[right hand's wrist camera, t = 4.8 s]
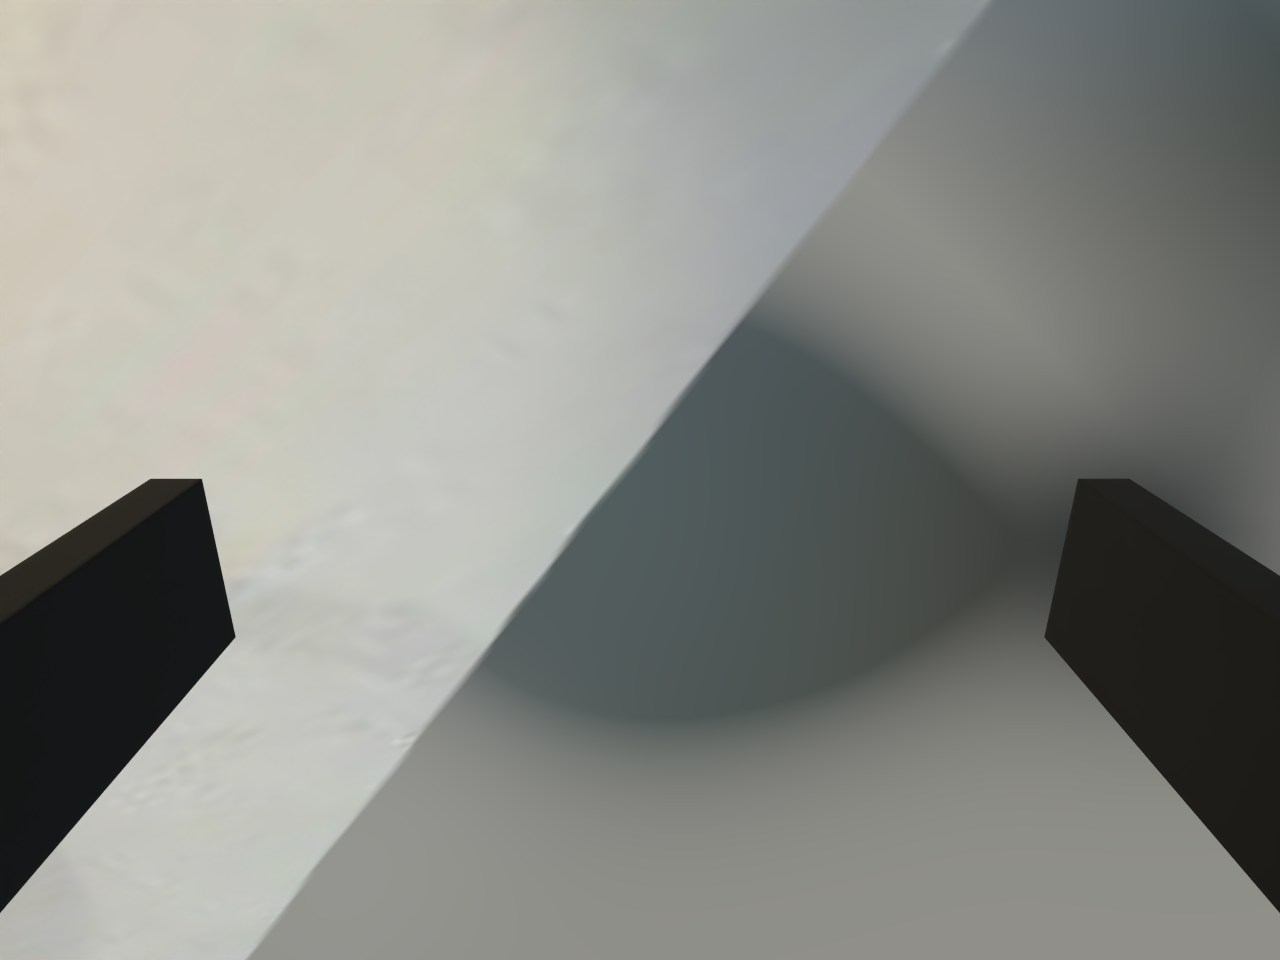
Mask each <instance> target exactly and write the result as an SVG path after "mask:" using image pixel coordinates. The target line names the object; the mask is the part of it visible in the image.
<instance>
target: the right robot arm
mask: <svg viewBox="0 0 1280 960" xmlns="http://www.w3.org/2000/svg"><path fill="white" fill-rule="evenodd" d="M234 638H235V632H234V628H233V623H232V618H231V614H230V609H229V604H228V599H227V595H226V590H225V585H224V581H223V576H222V571H221V567H220V562H219V557H218V553H217V548H216V543H215V538H214V534H213V529H212V524H211V520H210V515H209V510H208V506H207V501H206V496H205V491H204V487H203V482H202V479H150V480H148V481H147V482H145V483H143V484H142V485H140V486H139V487H137V488H136V489H134V490H133V491H131V492H130V493H128V494H126V495H125V496H123V497H122V498H120V499H119V500H117V501H116V502H114V503H112V504H111V505H109V506H108V507H106V508H105V509H103V510H102V511H100V512H99V513H97V514H95V515H94V516H92V517H91V518H89V519H88V520H86V521H85V522H83V523H81V524H80V525H78V526H77V527H75V528H74V529H72V530H71V531H69V532H68V533H66V534H64V535H63V536H61V537H60V538H58V539H57V540H55V541H54V542H52V543H50V544H49V545H47V546H46V547H44V548H43V549H41V550H40V551H38V552H37V553H35V554H33V555H32V556H30V557H29V558H27V559H26V560H24V561H23V562H21V563H19V564H18V565H16V566H15V567H13V568H12V569H10V570H9V571H7V572H6V573H4V574H2V575H1V576H0V913H1V911H2V910H3V909H4V908H5V907H6V905H7V904H8V903H9V902H10V901H11V900H12V898H13V897H14V896H15V895H16V894H17V893H18V891H19V890H20V889H21V888H22V887H23V886H24V884H25V883H26V882H27V881H28V880H29V879H30V877H31V876H32V875H33V874H34V873H35V872H36V870H37V869H38V868H39V867H40V866H41V864H42V863H43V862H44V861H45V860H46V859H47V857H48V856H49V855H50V854H51V853H52V852H53V850H54V849H55V848H56V847H57V846H58V845H59V843H60V842H61V841H62V840H63V839H64V838H65V836H66V835H67V834H68V833H69V832H70V830H71V829H72V828H73V827H74V826H75V825H76V823H77V822H78V821H79V820H80V819H81V818H82V816H83V815H84V814H85V813H86V812H87V811H88V809H89V808H90V807H91V806H92V805H93V804H94V802H95V801H96V800H97V799H98V798H99V797H100V795H101V794H102V793H103V792H104V791H105V789H106V788H107V787H108V786H109V785H110V784H111V782H112V781H113V780H114V779H115V778H116V777H117V775H118V774H119V773H120V772H121V771H122V770H123V768H124V767H125V766H126V765H127V764H128V763H129V761H130V760H131V759H132V758H133V757H134V756H135V754H136V753H137V752H138V751H139V750H140V748H141V747H142V746H143V745H144V744H145V743H146V741H147V740H148V739H149V738H150V737H151V736H152V734H153V733H154V732H155V731H156V730H157V729H158V727H159V726H160V725H161V724H162V723H163V722H164V720H165V719H166V718H167V717H168V716H169V714H170V713H171V712H172V711H173V710H174V709H175V707H176V706H177V705H178V704H179V703H180V702H181V700H182V699H183V698H184V697H185V696H186V695H187V693H188V692H189V691H190V690H191V689H192V688H193V686H194V685H195V684H196V683H197V682H198V681H199V679H200V678H201V677H202V676H203V675H204V673H205V672H206V671H207V670H208V669H209V668H210V666H211V665H212V664H213V663H214V662H215V661H216V659H217V658H218V657H219V656H220V655H221V654H222V652H223V651H224V650H225V649H226V648H227V647H228V645H229V644H230V643H231V642H232V641H233V639H234ZM1045 638H1046V639H1047V641H1048V642H1049V643H1050V644H1051V645H1052V646H1053V648H1054V649H1055V650H1056V651H1057V652H1058V653H1059V655H1060V656H1061V657H1062V658H1063V659H1064V661H1065V662H1066V663H1067V664H1068V665H1069V666H1070V668H1071V669H1072V670H1073V671H1074V672H1075V673H1076V675H1077V676H1078V677H1079V678H1080V679H1081V680H1082V682H1083V683H1084V684H1085V685H1086V686H1087V688H1088V689H1089V690H1090V691H1091V692H1092V693H1093V695H1094V696H1095V697H1096V698H1097V699H1098V700H1099V702H1100V703H1101V704H1102V705H1103V706H1104V707H1105V709H1106V710H1107V711H1108V712H1109V713H1110V714H1111V716H1112V717H1113V718H1114V719H1115V720H1116V721H1117V723H1118V724H1119V725H1120V726H1121V727H1122V729H1123V730H1124V731H1125V732H1126V733H1127V734H1128V736H1129V737H1130V738H1131V739H1132V740H1133V741H1134V743H1135V744H1136V745H1137V746H1138V747H1139V748H1140V750H1141V751H1142V752H1143V753H1144V754H1145V755H1146V757H1147V758H1148V759H1149V760H1150V761H1151V763H1152V764H1153V765H1154V766H1155V767H1156V768H1157V770H1158V771H1159V772H1160V773H1161V774H1162V775H1163V777H1164V778H1165V779H1166V780H1167V781H1168V782H1169V784H1170V785H1171V786H1172V787H1173V788H1174V789H1175V791H1176V792H1177V793H1178V794H1179V795H1180V796H1181V798H1182V799H1183V800H1184V801H1185V802H1186V804H1187V805H1188V806H1189V807H1190V808H1191V809H1192V811H1193V812H1194V813H1195V814H1196V815H1197V816H1198V818H1199V819H1200V820H1201V821H1202V822H1203V823H1204V825H1205V826H1206V827H1207V828H1208V829H1209V830H1210V832H1211V833H1212V834H1213V835H1214V836H1215V838H1216V839H1217V840H1218V841H1219V842H1220V843H1221V844H1222V846H1223V847H1224V848H1225V849H1226V850H1227V852H1228V853H1229V854H1230V855H1231V856H1232V857H1233V859H1234V860H1235V861H1236V862H1237V863H1238V864H1239V866H1240V867H1241V868H1242V869H1243V870H1244V872H1245V873H1246V874H1247V875H1248V876H1249V877H1250V879H1251V880H1252V881H1253V882H1254V883H1255V884H1256V886H1257V887H1258V888H1259V889H1260V890H1261V891H1262V893H1263V894H1264V895H1265V896H1266V897H1267V898H1268V900H1269V901H1270V902H1271V903H1272V904H1273V905H1274V907H1275V908H1276V909H1277V910H1278V911H1279V913H1280V576H1279V575H1277V574H1276V573H1274V572H1273V571H1271V570H1270V569H1268V568H1267V567H1265V566H1264V565H1262V564H1260V563H1259V562H1257V561H1256V560H1254V559H1253V558H1251V557H1250V556H1248V555H1247V554H1245V553H1243V552H1242V551H1240V550H1239V549H1237V548H1236V547H1234V546H1233V545H1231V544H1229V543H1228V542H1226V541H1225V540H1223V539H1222V538H1220V537H1219V536H1217V535H1216V534H1214V533H1212V532H1211V531H1209V530H1208V529H1206V528H1205V527H1203V526H1202V525H1200V524H1198V523H1197V522H1195V521H1194V520H1192V519H1191V518H1189V517H1188V516H1186V515H1185V514H1183V513H1181V512H1180V511H1178V510H1177V509H1175V508H1174V507H1172V506H1171V505H1169V504H1168V503H1166V502H1164V501H1163V500H1161V499H1160V498H1158V497H1157V496H1155V495H1154V494H1152V493H1150V492H1149V491H1147V490H1146V489H1144V488H1143V487H1141V486H1140V485H1138V484H1137V483H1135V482H1133V481H1132V480H1130V479H1078V482H1077V487H1076V491H1075V496H1074V501H1073V506H1072V510H1071V515H1070V520H1069V525H1068V529H1067V534H1066V538H1065V543H1064V548H1063V553H1062V557H1061V562H1060V567H1059V571H1058V576H1057V581H1056V585H1055V590H1054V595H1053V599H1052V604H1051V609H1050V614H1049V618H1048V623H1047V628H1046V633H1045Z"/></svg>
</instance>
